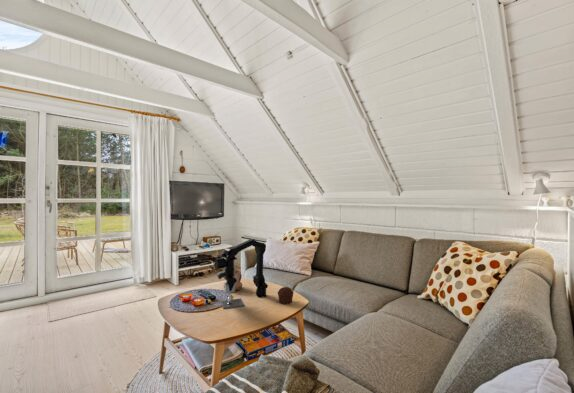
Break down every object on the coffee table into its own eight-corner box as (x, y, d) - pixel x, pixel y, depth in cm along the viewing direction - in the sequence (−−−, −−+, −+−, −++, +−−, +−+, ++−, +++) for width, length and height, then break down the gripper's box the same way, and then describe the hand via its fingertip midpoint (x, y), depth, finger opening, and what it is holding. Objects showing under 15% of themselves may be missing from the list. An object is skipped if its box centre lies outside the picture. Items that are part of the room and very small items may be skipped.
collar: (233, 288, 200) (233, 281, 200) (234, 291, 194) (234, 284, 194) (224, 289, 198) (224, 282, 197) (225, 292, 192) (225, 285, 192)
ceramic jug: (232, 294, 215) (232, 275, 215) (218, 290, 223) (218, 272, 223) (248, 287, 230) (248, 270, 230) (235, 284, 238) (235, 267, 238)
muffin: (283, 297, 209) (283, 284, 209) (296, 301, 203) (296, 287, 203) (274, 303, 199) (274, 288, 199) (287, 306, 193) (287, 291, 193)
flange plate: (240, 299, 205) (240, 292, 205) (244, 306, 193) (244, 298, 193) (220, 302, 200) (220, 295, 200) (223, 309, 189) (223, 301, 188)
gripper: (216, 264, 201) (216, 286, 202) (219, 271, 184) (219, 295, 184) (232, 263, 205) (231, 284, 206) (236, 269, 188) (236, 293, 188)
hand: (229, 289), depth 196 cm, fingers closed on collar, 6 cm apart
